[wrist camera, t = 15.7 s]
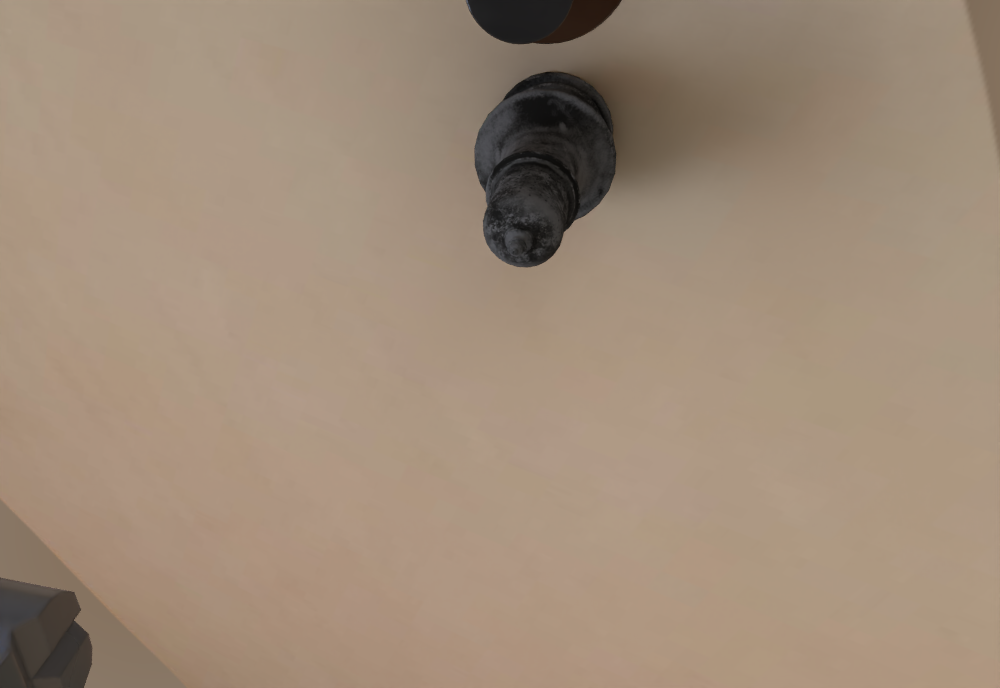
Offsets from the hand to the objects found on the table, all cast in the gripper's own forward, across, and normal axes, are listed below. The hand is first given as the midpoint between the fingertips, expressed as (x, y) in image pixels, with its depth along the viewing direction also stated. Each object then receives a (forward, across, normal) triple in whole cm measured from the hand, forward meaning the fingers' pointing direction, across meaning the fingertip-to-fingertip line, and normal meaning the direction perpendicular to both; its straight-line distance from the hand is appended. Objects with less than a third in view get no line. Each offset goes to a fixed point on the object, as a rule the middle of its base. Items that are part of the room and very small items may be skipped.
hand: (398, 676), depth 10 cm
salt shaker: (+31, +1, +4) cm, 32 cm away
